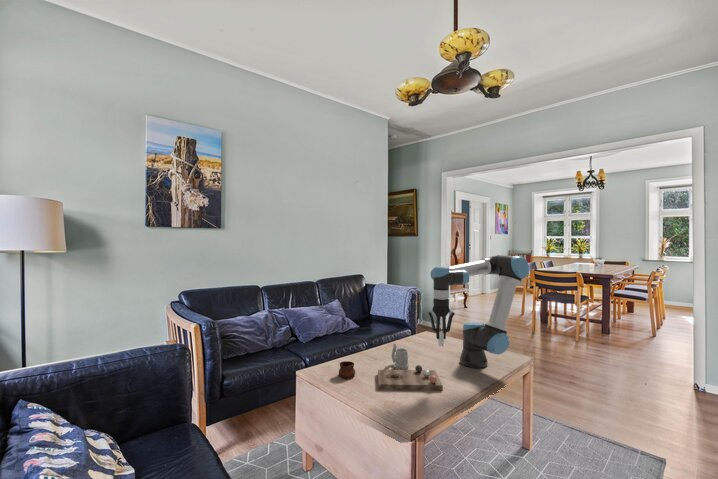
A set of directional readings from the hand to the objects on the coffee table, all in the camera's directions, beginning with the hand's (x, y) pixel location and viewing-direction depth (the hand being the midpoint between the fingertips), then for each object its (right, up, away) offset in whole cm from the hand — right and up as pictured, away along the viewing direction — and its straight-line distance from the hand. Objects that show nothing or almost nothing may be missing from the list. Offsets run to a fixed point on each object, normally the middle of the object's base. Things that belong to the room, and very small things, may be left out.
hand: (441, 345), depth 170 cm
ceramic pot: (-47, -19, +8) cm, 51 cm away
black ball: (-10, -14, +7) cm, 19 cm away
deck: (-16, -18, +1) cm, 24 cm away
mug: (-18, -19, +21) cm, 33 cm away
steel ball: (-7, -14, 0) cm, 16 cm away
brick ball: (-5, -14, -6) cm, 16 cm away
